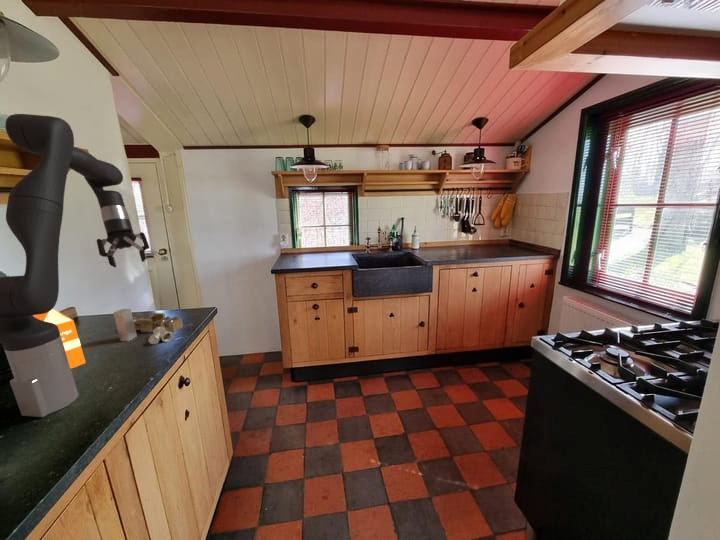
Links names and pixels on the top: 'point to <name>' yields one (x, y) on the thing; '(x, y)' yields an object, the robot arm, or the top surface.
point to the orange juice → (66, 336)
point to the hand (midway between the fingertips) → (129, 264)
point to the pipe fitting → (160, 335)
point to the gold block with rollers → (157, 322)
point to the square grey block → (125, 324)
